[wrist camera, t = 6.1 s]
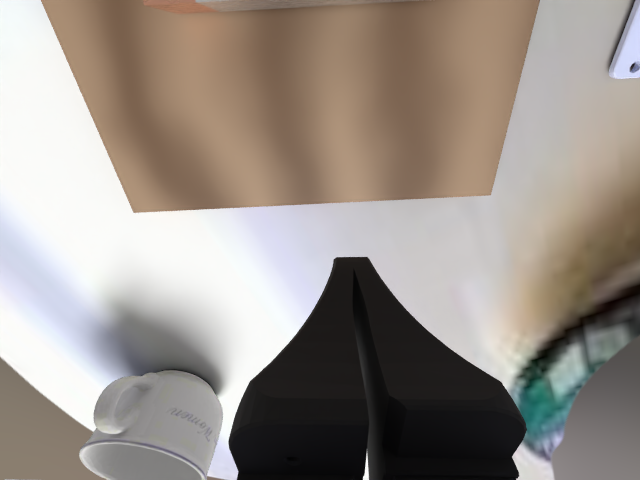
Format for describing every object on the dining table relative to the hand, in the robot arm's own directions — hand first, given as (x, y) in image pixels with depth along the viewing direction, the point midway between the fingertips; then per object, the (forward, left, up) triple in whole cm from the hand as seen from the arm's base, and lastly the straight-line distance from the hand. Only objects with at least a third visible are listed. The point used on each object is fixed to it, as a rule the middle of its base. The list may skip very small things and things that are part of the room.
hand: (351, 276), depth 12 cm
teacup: (+18, +20, -9) cm, 29 cm away
